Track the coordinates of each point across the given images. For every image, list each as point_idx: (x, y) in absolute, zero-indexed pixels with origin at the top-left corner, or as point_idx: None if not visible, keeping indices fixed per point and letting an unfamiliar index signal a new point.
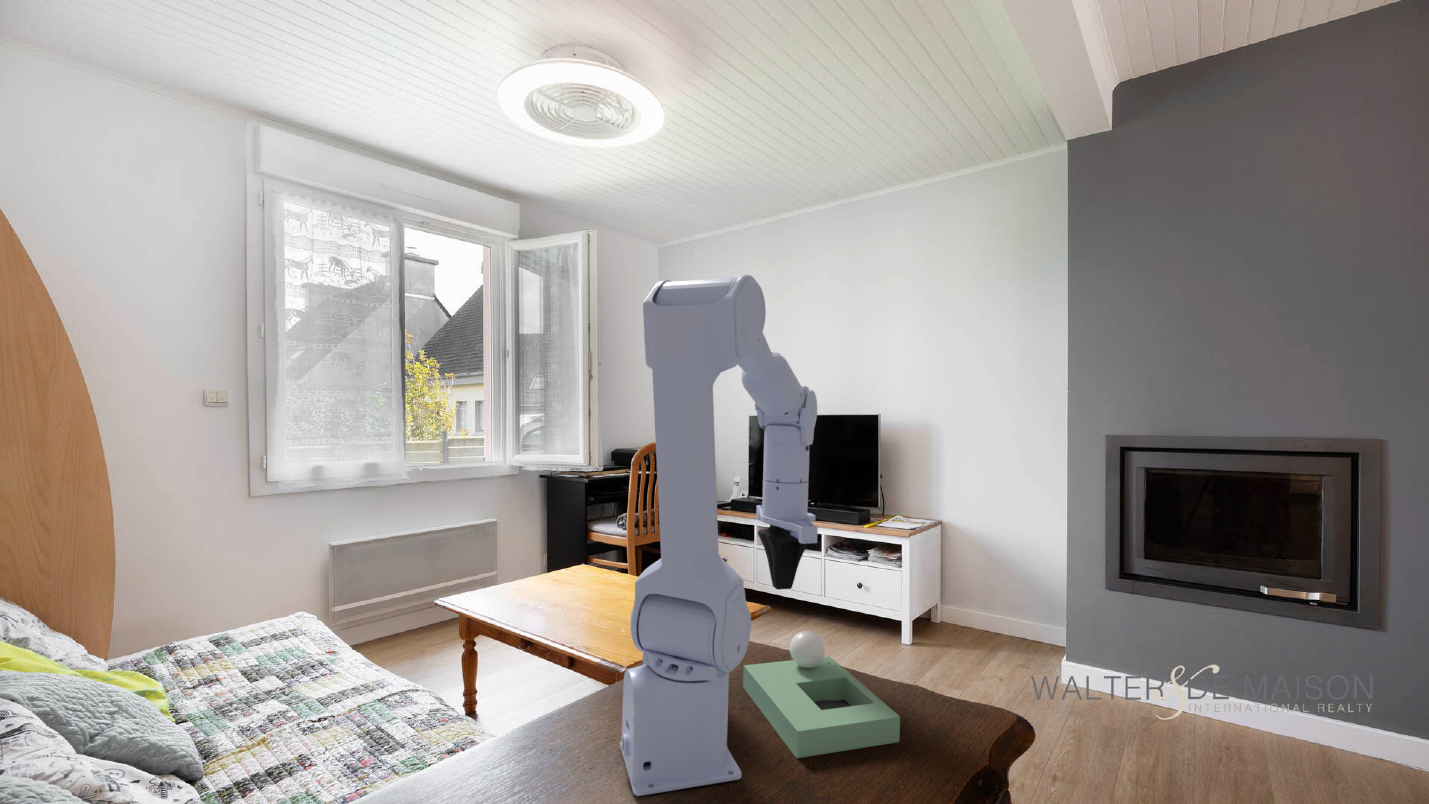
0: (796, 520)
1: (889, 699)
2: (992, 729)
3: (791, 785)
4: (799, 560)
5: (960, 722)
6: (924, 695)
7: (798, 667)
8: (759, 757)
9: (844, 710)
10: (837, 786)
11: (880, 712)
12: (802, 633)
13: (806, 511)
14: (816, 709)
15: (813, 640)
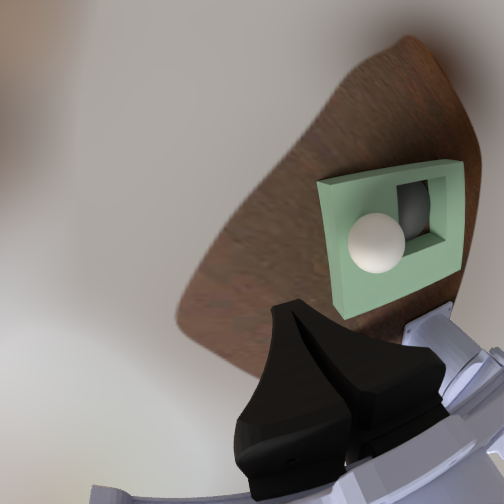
0: (486, 447)
1: (378, 119)
2: (425, 54)
3: (461, 267)
4: (356, 332)
5: (418, 73)
6: (367, 69)
7: None
8: (436, 288)
9: (450, 216)
10: (469, 236)
11: (457, 178)
12: (392, 262)
13: (492, 473)
14: (444, 245)
15: (404, 244)
